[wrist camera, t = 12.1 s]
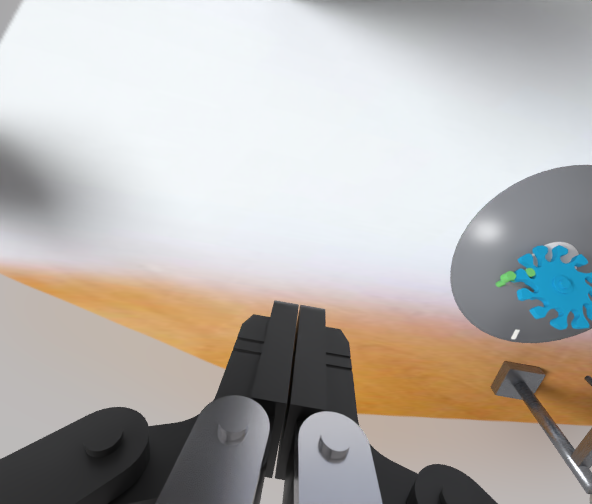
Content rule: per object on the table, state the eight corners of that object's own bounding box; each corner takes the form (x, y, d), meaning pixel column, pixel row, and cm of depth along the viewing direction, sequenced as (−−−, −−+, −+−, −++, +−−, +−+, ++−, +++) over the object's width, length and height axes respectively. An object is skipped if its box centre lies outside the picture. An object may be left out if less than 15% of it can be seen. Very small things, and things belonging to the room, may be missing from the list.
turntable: (490, 146, 37) (495, 147, 36) (703, 183, 37) (713, 185, 36) (423, 322, 47) (425, 326, 46) (592, 351, 47) (597, 356, 46)
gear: (611, 255, 38) (615, 341, 35) (571, 271, 44) (571, 347, 40) (513, 229, 39) (507, 310, 36) (486, 248, 45) (479, 319, 41)
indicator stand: (524, 324, 45) (676, 487, 25) (561, 330, 45) (741, 499, 25) (489, 389, 50) (595, 568, 30) (522, 395, 50) (649, 577, 30)
